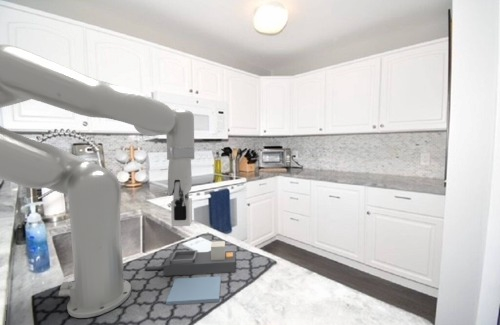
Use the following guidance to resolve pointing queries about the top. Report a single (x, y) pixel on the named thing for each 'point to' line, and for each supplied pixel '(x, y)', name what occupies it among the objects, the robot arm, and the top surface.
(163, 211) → the top surface
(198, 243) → the external hard drive
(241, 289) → the top surface
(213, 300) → the mat
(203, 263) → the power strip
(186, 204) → the block
